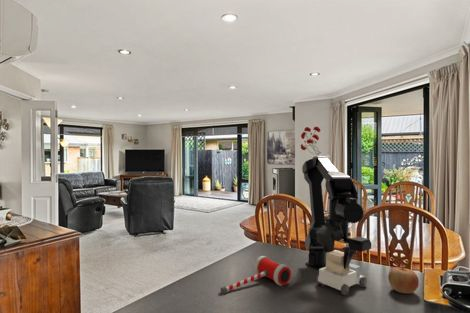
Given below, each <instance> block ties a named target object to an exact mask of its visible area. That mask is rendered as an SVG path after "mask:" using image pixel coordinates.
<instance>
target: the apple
mask: <svg viewBox="0 0 470 313" xmlns="http://www.w3.org/2000/svg"><path fill="white" fill-rule="evenodd" d="M400 266H401V267H399V266H395V267H392V268H391V269H390V271H389V272H388V277H387V278H388V282H389V284H390V287H391V288H392V289H393V290H395V292H398V293H400V294H412V293H414V292H416V290H417V289H418V288H419V284H420V283H419V281H420V280H419V277H418V276H417V274H416V272H415V271H413V270H412V269H409V268H404V267H403V264H401V265H400Z"/></svg>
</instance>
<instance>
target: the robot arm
mask: <svg viewBox="0 0 470 313" xmlns="http://www.w3.org/2000/svg"><path fill="white" fill-rule="evenodd" d="M301 170H302V173H303V178H304V179H303V180H305V181H306V183H307V184H308V189H309V201H310V202H309V203H310V212H311V213H310V215H311V224H310V225H309V228H308V230H307V232H308V233H307V235H306V237H305V240H304V247H305V248H306V250H308V261H306V262H305V265H307V266H309V267H311V268H315V269H318V270H319V269H321V268H324V267H326V253H327V252H330V251H333V250H335V243H336V242H339V243H343V244H345V246H344V247H341V249H342V252H344V269H347V267H348V265H349V263H351V261H352V258H354V255H355V253H356V252H361V253H363V252H365V251H369V250H371V249H372V242H371V240H370V239H369V238H366V237H363V236H355V237H353V238H352V237H351V236H352V234H351V232H349V224H356V223H359V222H360V221H361V220H362V219H363V217H364V209H363V207H362V206H361V205H360V204H359V203H357V202H358V199H359V197H358V194H359V193H358V191H357V189H356V186H355V184H354V180H353V179H352V178H351V176H350V175H348V174H346V173H345V172H340V171H339V170H338V169H337V168H336V167H335V165H333V163H332V162H331V161H330V158H329V157H328V156H327V155H315V156H313V157H312V158H311V159H308V160H306V161H305V162H304V163H303V164H302V167H301ZM324 179H325V190H326V191H327V195H328V200H329V202H328V203H329V205H328V206H329V209H328V218H326V217H325V209H324V197H323V196H324V195H323V187H322V183H323V181H324ZM325 219H326V220H325Z"/></svg>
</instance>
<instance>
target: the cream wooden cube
mask: <svg viewBox="0 0 470 313" xmlns="http://www.w3.org/2000/svg"><path fill="white" fill-rule="evenodd" d="M326 269H328V270H331V271H334V272H337V273H343V272H346V271H348V270H349V265H348V267H347V269H344V251H341V250H338V249H334V250H333V251H330V252H327V253H326Z"/></svg>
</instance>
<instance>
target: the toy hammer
mask: <svg viewBox="0 0 470 313" xmlns="http://www.w3.org/2000/svg"><path fill="white" fill-rule="evenodd" d="M253 266H254V267H253V269H254V273H255V274H254V275H252V276H249V277H247V278H244V279H242V280H240V281H237V282H235V283H233V284H230V285H228V286H222V287H220V293H221V294H223V295H226V294H227V293H228V292H230V291H232V290H235V289H237V288H239V287H242V286H244V285H246V284H249V283H251V282H254V281H255V280H258V279H261V278H262V277H266V278H268V279H270V280H272V281H273V282H274V283H275V284H276V285H278V286H280V287H282V286H284V285H287V284H289V283H290V282H291V278H292V269H291V267H290V266H288V265H286V264H283V263H282V264H281V263H277V262H276V261H273V260H271V259H270V258H269V257H267V256H266V255H260V256H259V257H257V258H256V260H255V262H254V265H253Z"/></svg>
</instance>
